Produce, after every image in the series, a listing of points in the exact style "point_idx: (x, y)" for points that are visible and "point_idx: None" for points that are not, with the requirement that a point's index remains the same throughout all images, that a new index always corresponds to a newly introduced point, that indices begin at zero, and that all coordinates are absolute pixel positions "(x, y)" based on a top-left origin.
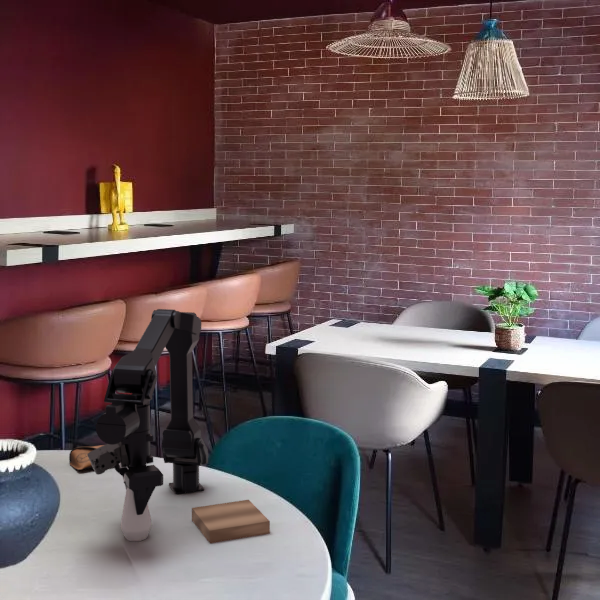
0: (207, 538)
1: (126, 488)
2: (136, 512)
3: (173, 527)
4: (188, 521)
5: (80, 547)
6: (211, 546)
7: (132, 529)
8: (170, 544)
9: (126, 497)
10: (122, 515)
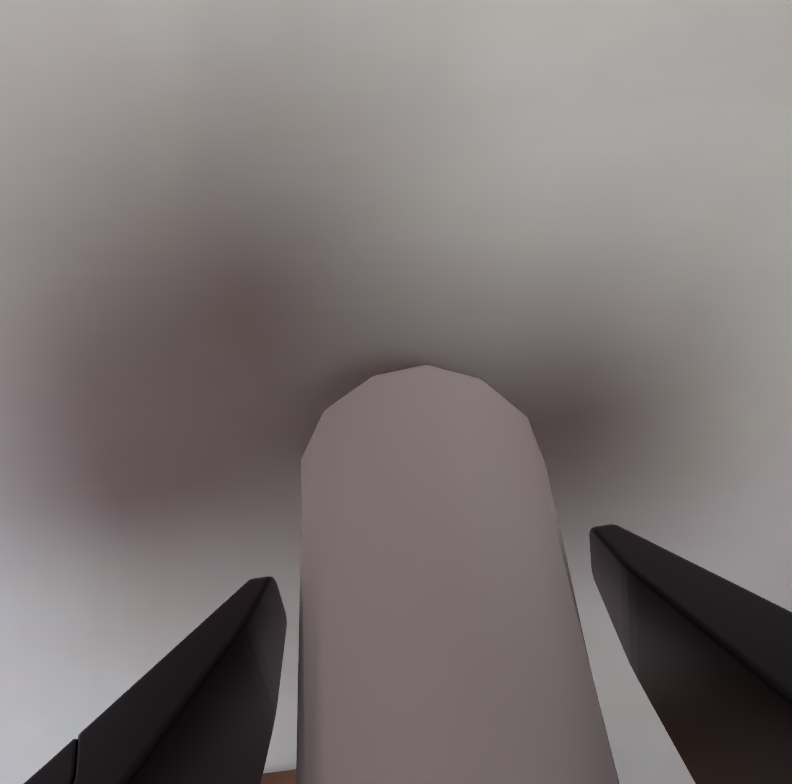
0: (292, 781)
1: (724, 639)
2: (234, 593)
3: None
4: None
5: (315, 17)
6: None
7: (302, 460)
8: None
9: (413, 592)
10: (429, 417)
